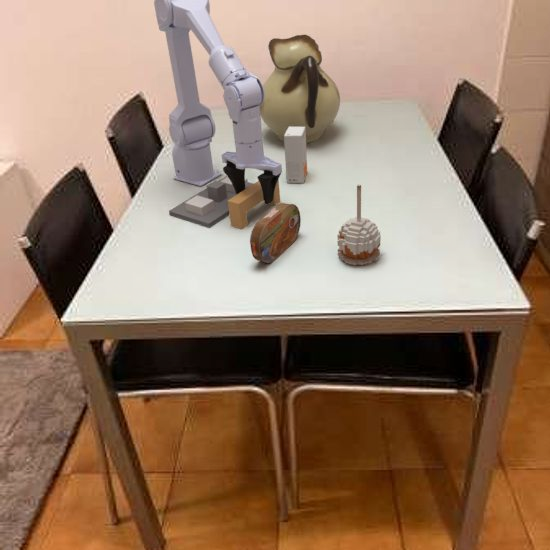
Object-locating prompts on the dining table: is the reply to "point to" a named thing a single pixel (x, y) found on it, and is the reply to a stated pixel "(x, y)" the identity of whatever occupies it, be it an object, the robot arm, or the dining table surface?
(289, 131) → the skincare box
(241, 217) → the frame
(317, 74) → the beige sack vase
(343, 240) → the caramel apple
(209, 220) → the stand
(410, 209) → the dining table surface
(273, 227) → the tin
